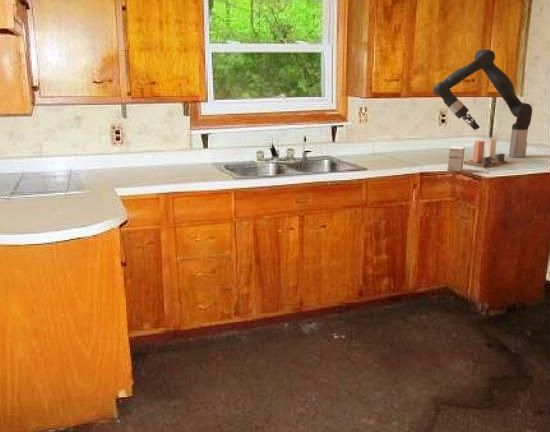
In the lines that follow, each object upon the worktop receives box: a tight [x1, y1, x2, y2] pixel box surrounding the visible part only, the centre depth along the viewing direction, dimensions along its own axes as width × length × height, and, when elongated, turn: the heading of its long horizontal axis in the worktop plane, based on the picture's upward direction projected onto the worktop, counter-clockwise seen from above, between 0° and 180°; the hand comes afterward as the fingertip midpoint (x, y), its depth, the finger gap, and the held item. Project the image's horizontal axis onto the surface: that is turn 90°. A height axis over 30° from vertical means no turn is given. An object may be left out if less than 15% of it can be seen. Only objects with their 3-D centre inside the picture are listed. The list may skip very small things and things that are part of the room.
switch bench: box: [463, 153, 509, 168], centre depth 314 cm, size 22×14×6 cm, turn 121°
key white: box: [484, 137, 498, 159], centre depth 318 cm, size 5×3×12 cm, turn 121°
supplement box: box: [447, 145, 466, 172], centre depth 297 cm, size 7×7×13 cm
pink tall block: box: [472, 140, 486, 163], centre depth 309 cm, size 5×3×12 cm, turn 121°
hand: (477, 128), depth 319 cm, fingers open, 8 cm apart
